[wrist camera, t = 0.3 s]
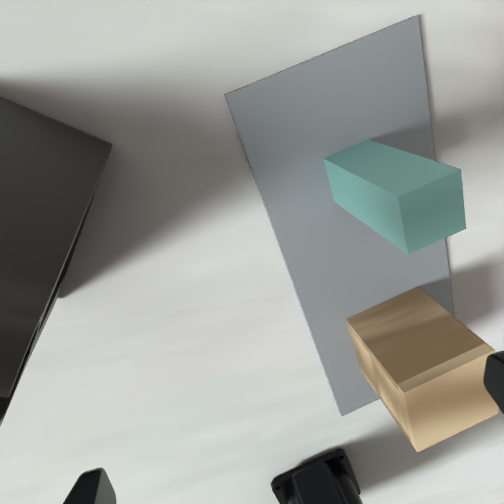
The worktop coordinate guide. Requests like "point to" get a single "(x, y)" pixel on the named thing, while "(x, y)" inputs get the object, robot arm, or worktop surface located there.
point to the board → (319, 190)
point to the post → (398, 193)
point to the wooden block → (423, 366)
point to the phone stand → (38, 225)
